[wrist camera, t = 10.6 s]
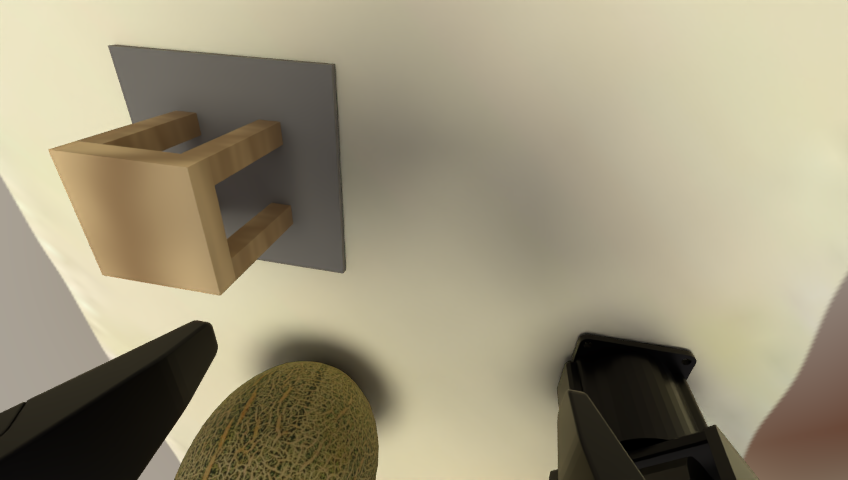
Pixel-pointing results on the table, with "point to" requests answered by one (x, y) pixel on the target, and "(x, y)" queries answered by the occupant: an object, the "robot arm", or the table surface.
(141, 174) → the stool
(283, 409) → the fruit
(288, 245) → the mat
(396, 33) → the table surface
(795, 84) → the table surface
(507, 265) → the table surface
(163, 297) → the table surface
